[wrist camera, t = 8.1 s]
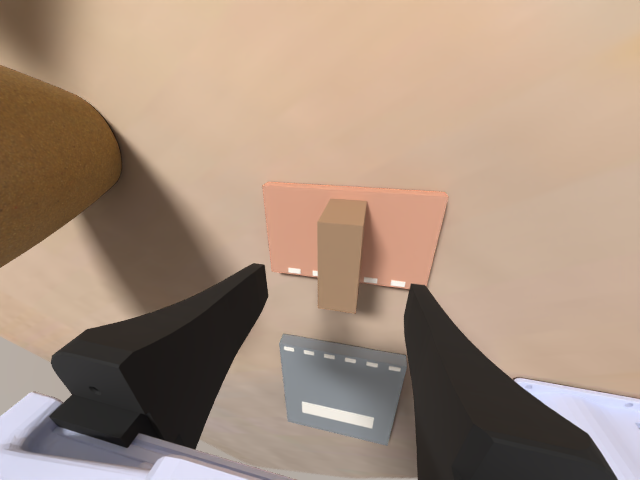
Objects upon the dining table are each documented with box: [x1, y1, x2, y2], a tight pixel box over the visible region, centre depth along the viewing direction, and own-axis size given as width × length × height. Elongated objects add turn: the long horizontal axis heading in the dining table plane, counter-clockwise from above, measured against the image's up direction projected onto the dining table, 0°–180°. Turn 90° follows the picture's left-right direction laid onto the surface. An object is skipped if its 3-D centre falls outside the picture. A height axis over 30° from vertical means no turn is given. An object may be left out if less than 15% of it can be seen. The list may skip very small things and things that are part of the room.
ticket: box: [279, 334, 407, 446], centre depth 27 cm, size 12×14×1 cm
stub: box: [262, 182, 448, 314], centre depth 17 cm, size 12×7×5 cm, turn 90°
